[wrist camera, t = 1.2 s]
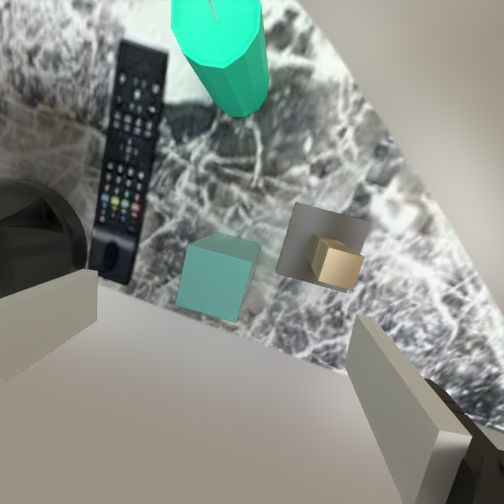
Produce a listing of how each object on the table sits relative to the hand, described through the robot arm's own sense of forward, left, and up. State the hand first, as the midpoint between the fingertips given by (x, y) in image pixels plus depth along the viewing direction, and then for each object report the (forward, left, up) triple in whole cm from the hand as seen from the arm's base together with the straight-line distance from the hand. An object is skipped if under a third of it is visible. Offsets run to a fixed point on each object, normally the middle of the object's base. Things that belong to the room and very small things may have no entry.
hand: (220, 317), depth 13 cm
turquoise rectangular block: (-2, -1, -17) cm, 17 cm away
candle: (-6, +16, -17) cm, 25 cm away
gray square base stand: (+7, +3, -17) cm, 19 cm away
